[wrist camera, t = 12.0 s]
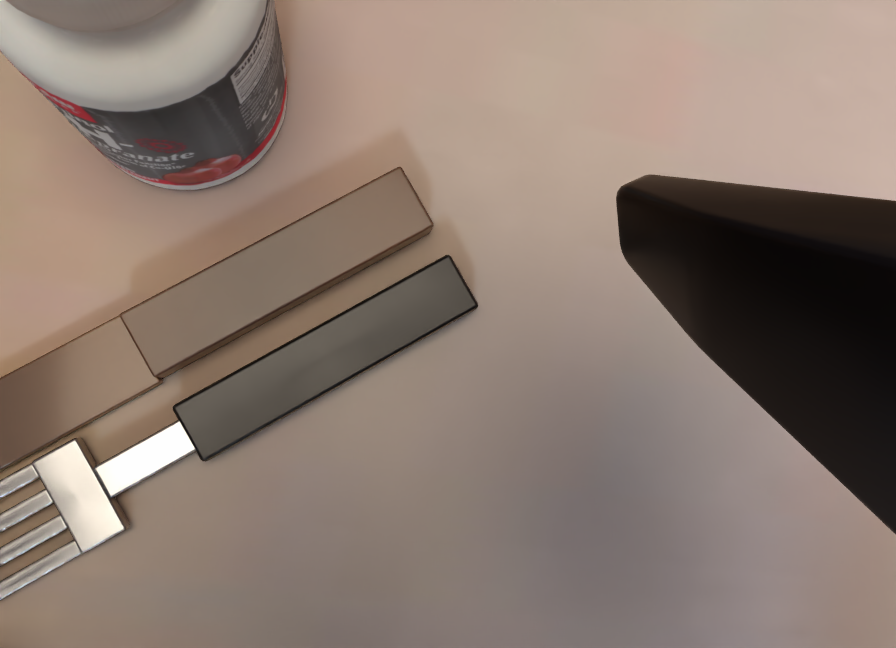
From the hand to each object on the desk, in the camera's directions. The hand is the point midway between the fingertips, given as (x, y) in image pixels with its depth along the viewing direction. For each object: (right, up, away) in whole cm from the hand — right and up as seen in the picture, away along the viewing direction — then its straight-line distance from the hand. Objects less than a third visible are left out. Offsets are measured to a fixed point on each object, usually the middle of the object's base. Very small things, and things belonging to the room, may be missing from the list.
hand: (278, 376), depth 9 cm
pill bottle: (-5, +7, +13) cm, 16 cm away
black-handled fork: (-5, -2, +12) cm, 14 cm away
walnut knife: (-6, 0, +13) cm, 14 cm away
